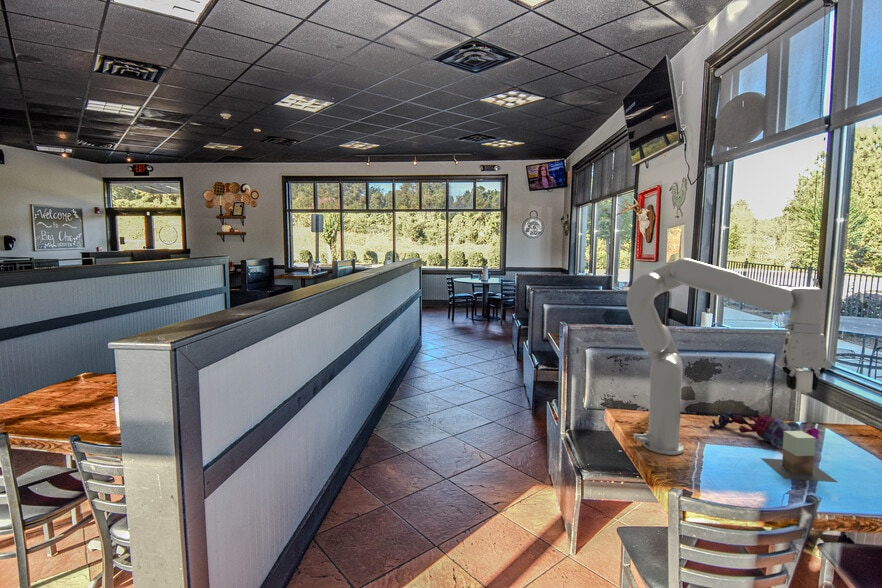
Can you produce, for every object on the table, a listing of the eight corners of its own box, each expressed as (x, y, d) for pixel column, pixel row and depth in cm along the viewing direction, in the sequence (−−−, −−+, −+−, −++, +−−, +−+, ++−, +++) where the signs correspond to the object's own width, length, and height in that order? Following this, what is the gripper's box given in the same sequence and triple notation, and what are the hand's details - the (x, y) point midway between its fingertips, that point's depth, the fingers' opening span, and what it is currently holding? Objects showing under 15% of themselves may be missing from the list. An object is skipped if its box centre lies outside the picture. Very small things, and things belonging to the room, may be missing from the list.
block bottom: (792, 472, 143) (793, 455, 143) (782, 464, 149) (783, 447, 148) (812, 474, 142) (813, 456, 142) (801, 466, 148) (803, 448, 147)
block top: (796, 455, 142) (797, 438, 142) (782, 448, 148) (783, 431, 147) (814, 455, 142) (815, 437, 142) (800, 448, 148) (801, 430, 147)
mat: (784, 479, 140) (784, 478, 140) (760, 459, 153) (760, 458, 153) (837, 483, 137) (838, 482, 137) (808, 462, 151) (808, 461, 151)
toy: (711, 438, 180) (800, 472, 154) (705, 418, 178) (795, 450, 151) (736, 412, 186) (826, 441, 160) (731, 393, 183) (821, 419, 157)
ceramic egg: (797, 392, 141) (798, 372, 141) (787, 387, 146) (788, 368, 146) (815, 392, 140) (817, 372, 140) (805, 388, 145) (806, 368, 145)
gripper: (780, 330, 139) (777, 391, 141) (845, 331, 137) (841, 393, 138) (766, 326, 147) (764, 384, 148) (828, 327, 144) (825, 386, 146)
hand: (801, 388), depth 143 cm, fingers closed on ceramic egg, 5 cm apart
